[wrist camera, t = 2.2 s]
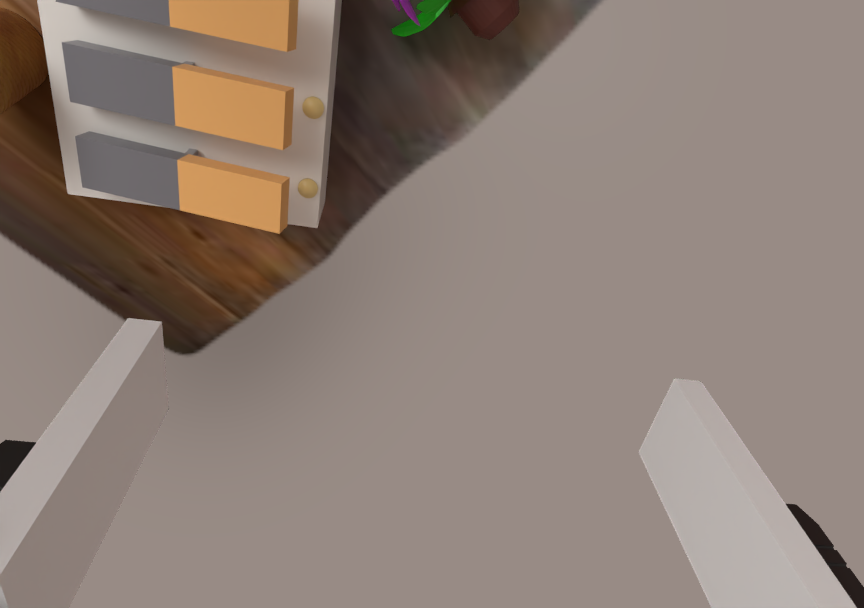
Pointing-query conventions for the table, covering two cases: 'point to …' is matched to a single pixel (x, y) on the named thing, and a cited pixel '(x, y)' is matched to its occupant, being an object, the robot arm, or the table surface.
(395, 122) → the table surface
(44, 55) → the disposable coffee cup
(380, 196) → the table surface
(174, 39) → the switch box
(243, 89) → the rocker mid
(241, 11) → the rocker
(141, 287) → the table surface
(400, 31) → the potted plant
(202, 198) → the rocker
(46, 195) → the table surface
